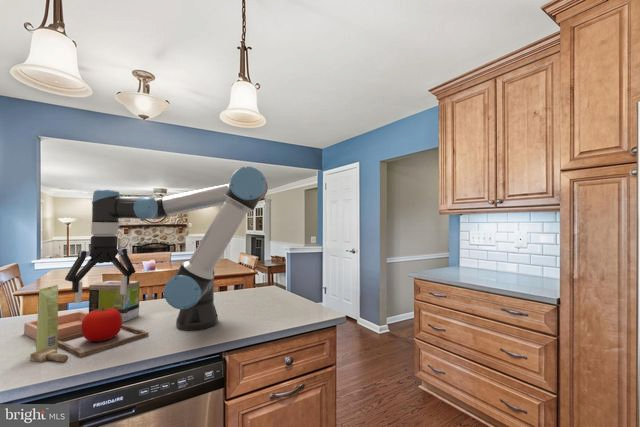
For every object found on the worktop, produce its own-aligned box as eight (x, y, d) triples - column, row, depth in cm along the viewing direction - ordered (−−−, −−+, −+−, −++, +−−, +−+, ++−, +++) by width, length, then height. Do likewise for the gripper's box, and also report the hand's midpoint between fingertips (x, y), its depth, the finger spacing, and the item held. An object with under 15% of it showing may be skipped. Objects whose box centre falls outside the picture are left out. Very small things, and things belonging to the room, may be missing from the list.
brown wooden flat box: (103, 328, 113) (103, 318, 113) (44, 344, 98) (45, 332, 98) (80, 320, 122) (81, 311, 122) (24, 333, 107) (24, 323, 108)
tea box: (139, 315, 130) (140, 280, 130) (122, 323, 120) (123, 285, 120) (107, 314, 131) (108, 279, 132) (87, 321, 121) (88, 284, 122)
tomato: (119, 330, 111) (120, 301, 111) (123, 341, 101) (124, 309, 102) (80, 338, 104) (81, 307, 104) (80, 349, 94) (81, 315, 95)
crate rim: (148, 335, 106) (148, 332, 106) (80, 357, 89) (80, 353, 89) (118, 325, 116) (118, 322, 116) (52, 343, 99) (52, 339, 99)
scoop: (72, 358, 88) (72, 352, 88) (57, 364, 84) (57, 358, 84) (46, 354, 91) (46, 348, 91) (30, 360, 87) (30, 353, 87)
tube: (34, 350, 94) (36, 286, 94) (55, 345, 98) (57, 284, 98) (37, 355, 90) (39, 289, 91) (59, 350, 94) (61, 286, 95)
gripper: (136, 234, 117) (133, 290, 116) (54, 235, 95) (50, 304, 94) (147, 234, 113) (145, 292, 112) (64, 236, 91) (61, 308, 90)
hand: (102, 298), depth 103 cm, fingers open, 13 cm apart
